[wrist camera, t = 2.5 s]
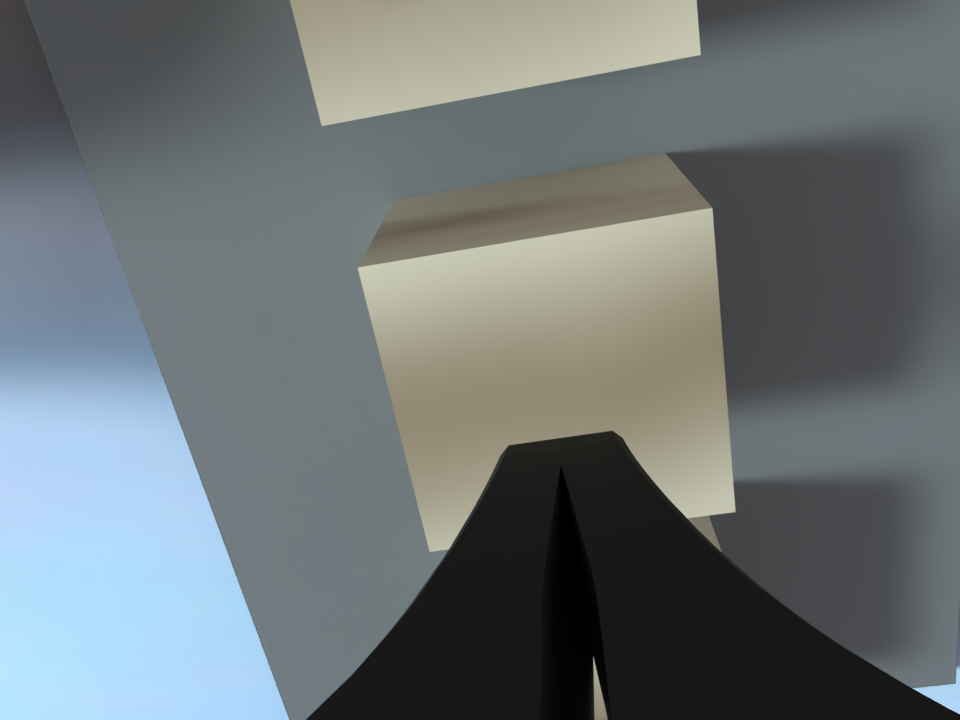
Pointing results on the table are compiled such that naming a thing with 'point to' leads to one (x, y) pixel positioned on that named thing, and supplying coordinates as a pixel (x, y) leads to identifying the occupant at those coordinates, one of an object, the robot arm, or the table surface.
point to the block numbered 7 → (475, 47)
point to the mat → (524, 153)
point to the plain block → (553, 330)
